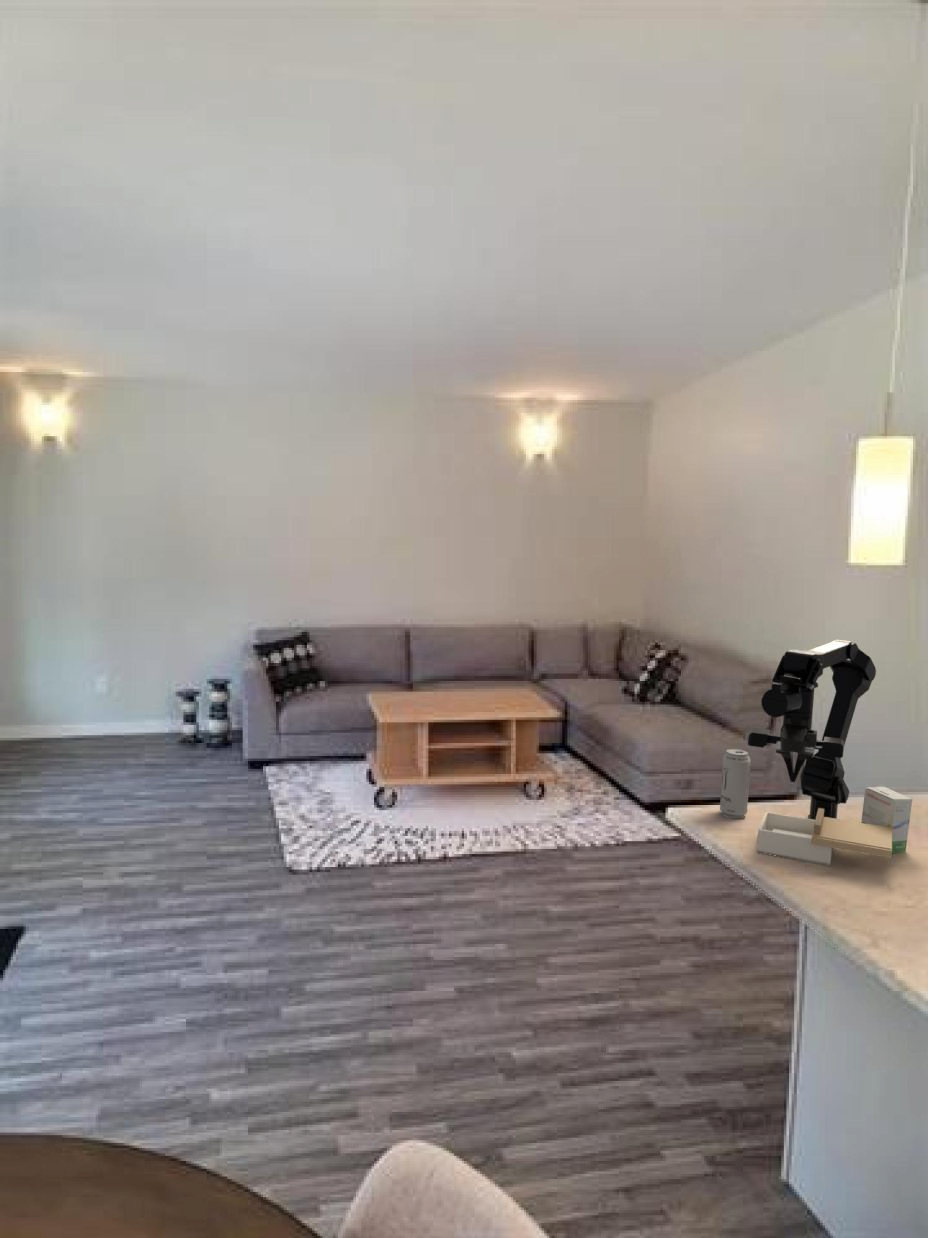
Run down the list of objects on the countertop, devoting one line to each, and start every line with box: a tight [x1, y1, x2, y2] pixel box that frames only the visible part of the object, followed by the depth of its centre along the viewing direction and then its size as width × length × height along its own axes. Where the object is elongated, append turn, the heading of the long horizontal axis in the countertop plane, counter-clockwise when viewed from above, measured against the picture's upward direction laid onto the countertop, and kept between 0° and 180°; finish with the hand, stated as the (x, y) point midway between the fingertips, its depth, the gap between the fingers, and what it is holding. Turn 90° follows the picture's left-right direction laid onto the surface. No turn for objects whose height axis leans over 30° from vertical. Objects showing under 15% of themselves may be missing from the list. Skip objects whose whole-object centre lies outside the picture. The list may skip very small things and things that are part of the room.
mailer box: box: [756, 811, 834, 867], centre depth 183 cm, size 12×14×5 cm
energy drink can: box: [719, 748, 752, 819], centre depth 202 cm, size 6×6×15 cm
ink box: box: [860, 786, 913, 854], centre depth 186 cm, size 9×5×12 cm, turn 17°
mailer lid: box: [811, 808, 893, 859], centre depth 178 cm, size 14×14×4 cm
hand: (792, 781), depth 187 cm, fingers closed
